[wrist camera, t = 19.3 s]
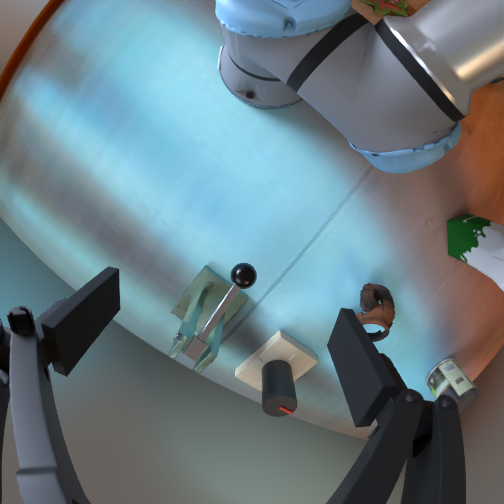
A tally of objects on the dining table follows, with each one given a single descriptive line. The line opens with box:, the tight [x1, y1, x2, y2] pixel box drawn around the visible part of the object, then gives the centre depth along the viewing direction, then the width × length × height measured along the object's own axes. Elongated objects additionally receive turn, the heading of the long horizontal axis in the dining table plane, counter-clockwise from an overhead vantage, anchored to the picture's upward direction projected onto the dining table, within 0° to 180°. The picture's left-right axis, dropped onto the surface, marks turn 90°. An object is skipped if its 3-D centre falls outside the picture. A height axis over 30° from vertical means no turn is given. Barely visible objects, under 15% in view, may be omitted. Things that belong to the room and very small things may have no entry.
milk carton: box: [447, 214, 504, 291], centre depth 33 cm, size 9×9×20 cm
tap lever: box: [183, 263, 257, 362], centre depth 36 cm, size 15×4×4 cm, turn 143°
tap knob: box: [261, 360, 297, 417], centre depth 44 cm, size 6×6×10 cm
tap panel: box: [235, 330, 318, 391], centre depth 50 cm, size 13×10×3 cm
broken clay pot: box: [356, 283, 395, 342], centre depth 44 cm, size 12×10×8 cm
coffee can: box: [426, 358, 480, 416], centre depth 47 cm, size 10×10×14 cm
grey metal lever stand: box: [169, 265, 248, 373], centre depth 40 cm, size 11×9×15 cm
